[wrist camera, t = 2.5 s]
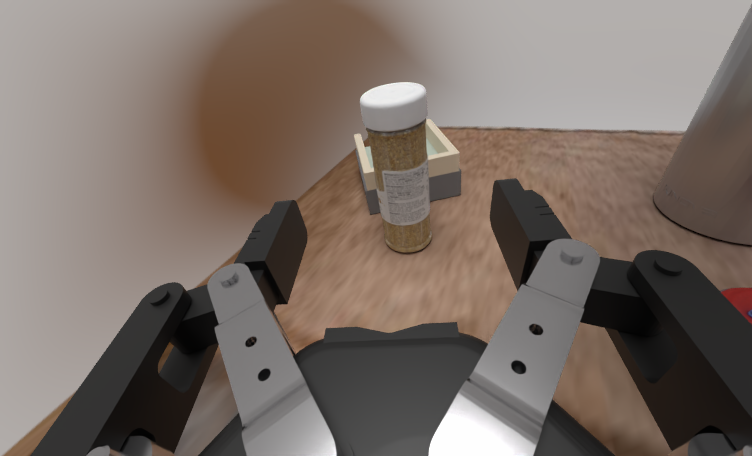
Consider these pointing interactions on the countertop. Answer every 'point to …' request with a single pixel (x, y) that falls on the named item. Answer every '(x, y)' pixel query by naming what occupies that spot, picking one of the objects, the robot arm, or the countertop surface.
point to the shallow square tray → (439, 165)
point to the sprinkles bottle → (400, 161)
